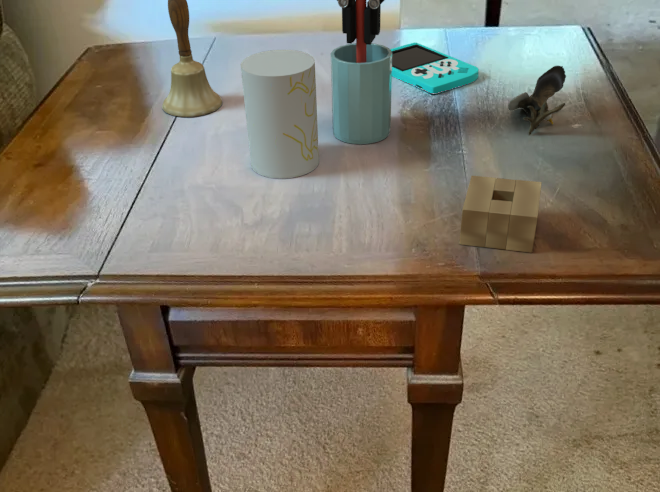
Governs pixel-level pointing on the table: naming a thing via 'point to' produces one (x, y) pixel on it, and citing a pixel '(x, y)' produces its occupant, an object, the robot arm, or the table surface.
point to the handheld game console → (430, 68)
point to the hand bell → (187, 73)
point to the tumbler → (361, 94)
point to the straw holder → (500, 213)
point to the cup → (281, 112)
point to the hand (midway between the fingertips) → (361, 39)
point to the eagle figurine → (540, 98)
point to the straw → (360, 32)
